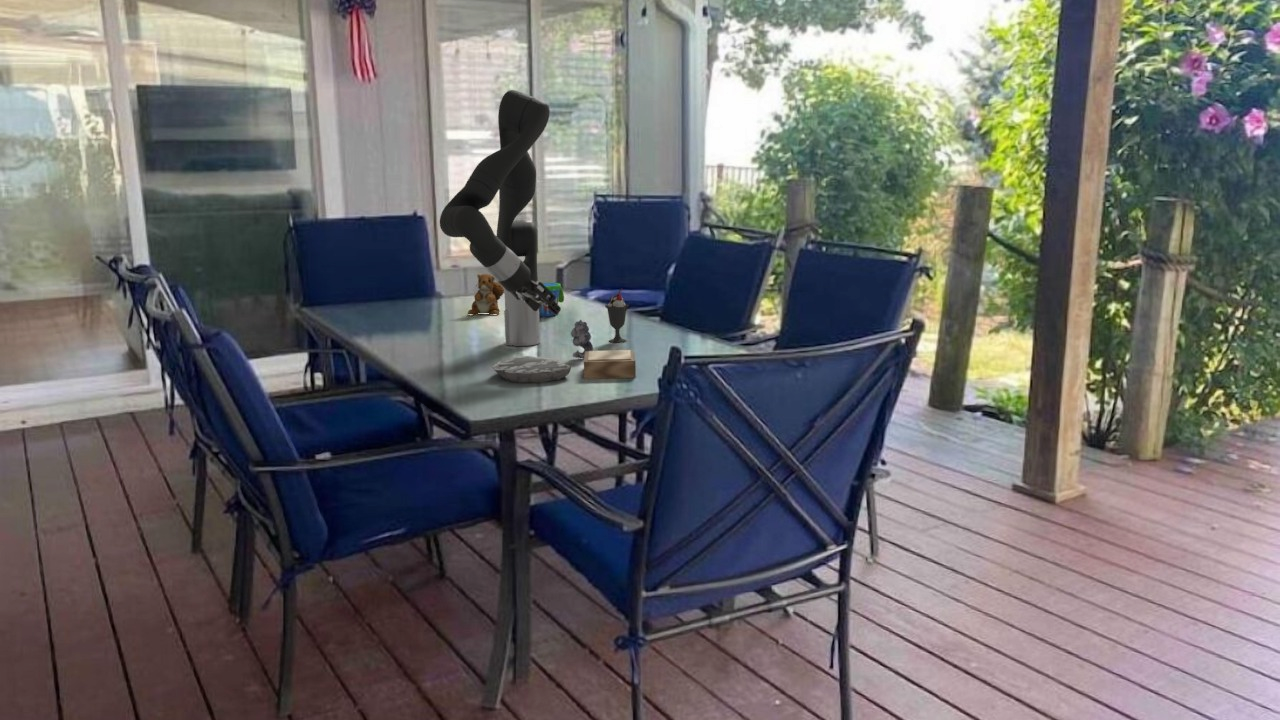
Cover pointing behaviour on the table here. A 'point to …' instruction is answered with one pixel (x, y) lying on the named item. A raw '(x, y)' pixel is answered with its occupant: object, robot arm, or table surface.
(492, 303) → the stuffed squirrel
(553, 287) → the snack cup
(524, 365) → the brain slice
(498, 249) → the robot arm
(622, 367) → the plinth
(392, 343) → the table surface
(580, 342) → the grey figurine
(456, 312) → the table surface
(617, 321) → the sundae
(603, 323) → the table surface
